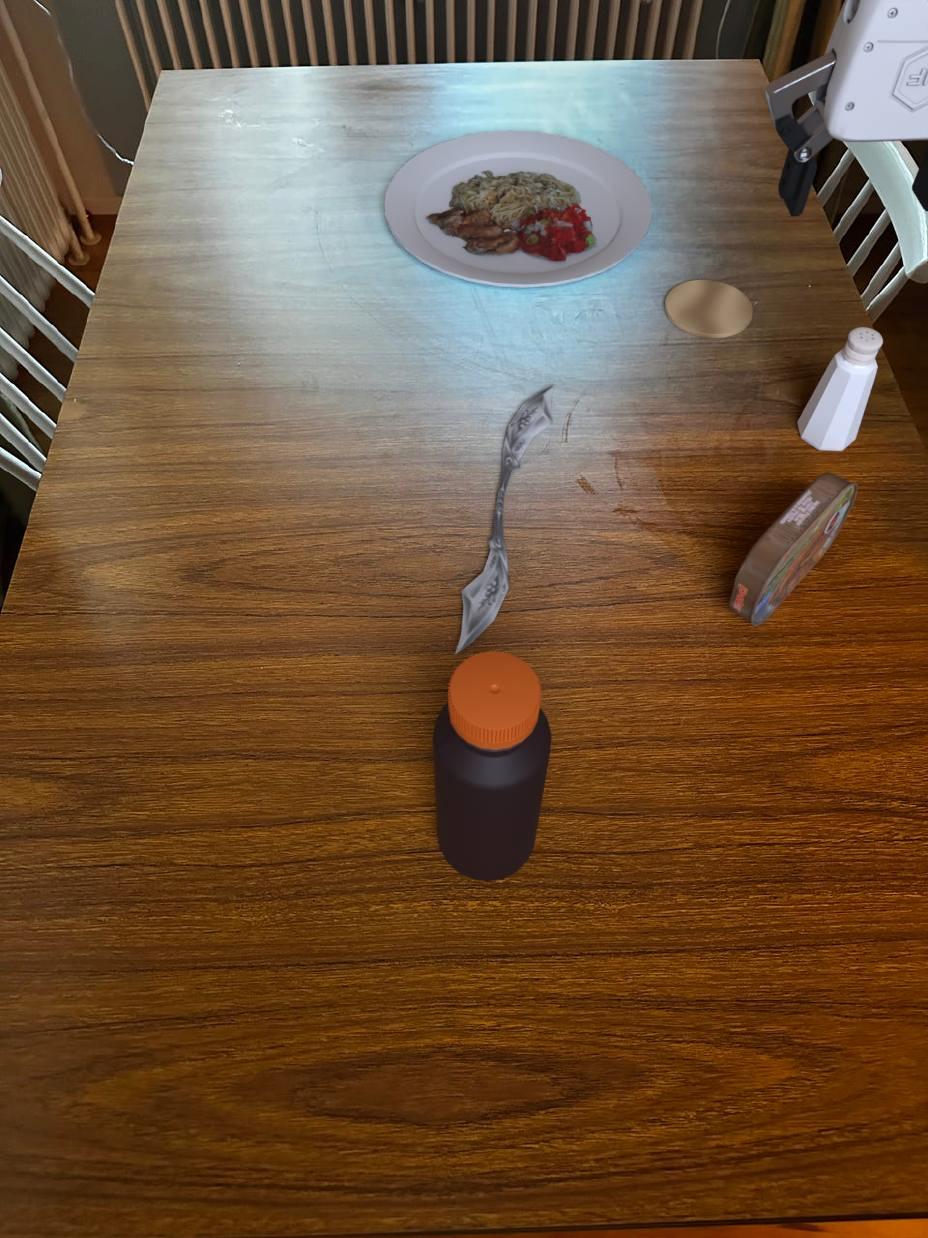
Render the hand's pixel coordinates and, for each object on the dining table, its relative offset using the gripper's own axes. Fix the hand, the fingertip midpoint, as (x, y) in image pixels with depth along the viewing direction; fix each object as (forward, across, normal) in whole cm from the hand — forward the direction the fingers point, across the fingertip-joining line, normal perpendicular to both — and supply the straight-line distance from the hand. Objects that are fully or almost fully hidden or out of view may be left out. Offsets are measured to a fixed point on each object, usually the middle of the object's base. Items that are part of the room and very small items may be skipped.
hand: (856, 202), depth 69 cm
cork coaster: (+24, -2, +19) cm, 30 cm away
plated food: (+24, -20, +37) cm, 48 cm away
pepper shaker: (+24, +5, +1) cm, 25 cm away
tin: (+24, -3, -16) cm, 29 cm away
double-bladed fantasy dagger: (+24, -25, -7) cm, 35 cm away
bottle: (+24, -29, -37) cm, 53 cm away
